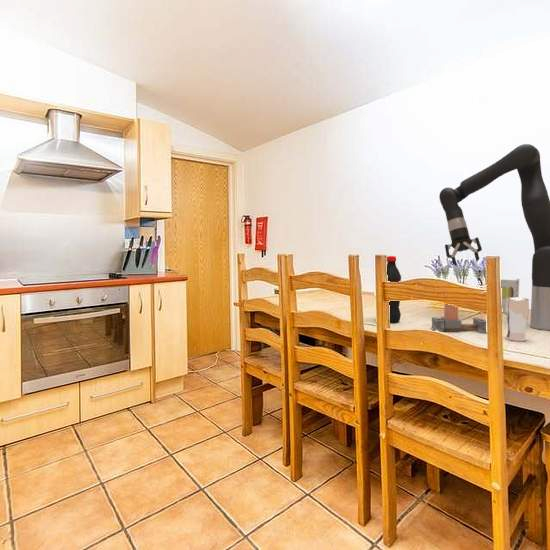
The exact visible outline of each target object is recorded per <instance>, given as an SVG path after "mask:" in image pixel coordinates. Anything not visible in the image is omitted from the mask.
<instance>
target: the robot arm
mask: <svg viewBox="0 0 550 550" xmlns="http://www.w3.org/2000/svg"><path fill="white" fill-rule="evenodd" d="M515 170H516V171H517V173H518V177H519V179H520V184H521V187H520V188H521V189H520V199H521V200H520V202H521V207H522V212H523V216H524V219H525V223H526V225H527V227H528V229H529V232H530V234H531V236H532V241H533V250H534V253H533V254H532V261H531V264H532V265H531V301H530V305H531V306H530V321H529V324H530V325H529V327H531V328H532V329H538V330H542V331H543V330H544V331H550V196H549V192H548V190H547V187H546V184H545V182H544V178H543V175H542V173H543V172H542V163H541V154H540V151H539V150H538V148H537V147H536V146H535V145H532V144H528V143H524V144H520V145H518V146H517V147H515V148H514V149H512V150H511V151H510V152H508V153H507V154H505V156H503V157H501V158H500V159H499V160H497V161H496V162H494V163H492V164H491V165H489V166H488V167H485V168H483V169H482V170H480V171H478V172H477V173H475V174H473V175H471V176H469V177H467V178H465V179H463V180H462V181H461V182H460V183H459V186H458V187H455V188H452V187H444V188H443V189H442V190H441V191H440V192H439V202H440V205H441V207H442V209H443V211H444V214H445V217H446V221H447V229H448V233H449V237H450V241H451V244H445V245H444V248H445V254H446V257H447V258H448V259H451V261H452V264H453V266H455V267H457V266H458V264H457V260H456V256H457V253H458V252H459V253H460V252H461V253H462V252H463V251H465V252H466V251H469V250H470V251H471V252H473V254H474V257H475V262H476V263H477V262H479V261H480V256H479V253H480V252H481V251H482V250H483V248H482V246H481V242H480V239H479V237H475V238H472V239H471V237H470V236H471V235H470V232H469V229H468V225H467V222H466V220H465V217H464V211H463V209H462V208H461V207H460V205H459V203H460V202H462V201H464V200H465V199H466V198H467V197H468V196H470V195H471V194H474V193H476V192H478V191H480V190H481V189H483V188H485V187H487V186H489V185H490V184H491V183H493V182H494V181H495V180H497V179H498V178H500V177H501V176H504V175H506V174H508V173H509V172H512V171H515ZM472 243H473V244H476V246H477V249H476V248H475V247H474V246H472ZM451 248H453V250H452V251H453V252H452V254H450V249H451Z"/></svg>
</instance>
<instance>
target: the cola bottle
mask: <svg viewBox="0 0 550 550" xmlns="http://www.w3.org/2000/svg"><path fill="white" fill-rule="evenodd" d="M396 262H397V257H396V256H395V255H388V256H386V263H387V264H386V266H387V275H388V281H390V282H399V281H401V282H402V275H401V273H400V272H401V271H400V270H399V269H398V267H397V264H396ZM400 302H401V300H400V301H390V302H389V305H390V322H391V323H390V324H394V323H398V322H400V320H401V315H402V314H401V313H402V312H401V310H400Z"/></svg>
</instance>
